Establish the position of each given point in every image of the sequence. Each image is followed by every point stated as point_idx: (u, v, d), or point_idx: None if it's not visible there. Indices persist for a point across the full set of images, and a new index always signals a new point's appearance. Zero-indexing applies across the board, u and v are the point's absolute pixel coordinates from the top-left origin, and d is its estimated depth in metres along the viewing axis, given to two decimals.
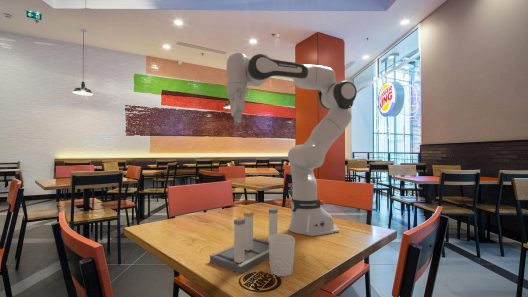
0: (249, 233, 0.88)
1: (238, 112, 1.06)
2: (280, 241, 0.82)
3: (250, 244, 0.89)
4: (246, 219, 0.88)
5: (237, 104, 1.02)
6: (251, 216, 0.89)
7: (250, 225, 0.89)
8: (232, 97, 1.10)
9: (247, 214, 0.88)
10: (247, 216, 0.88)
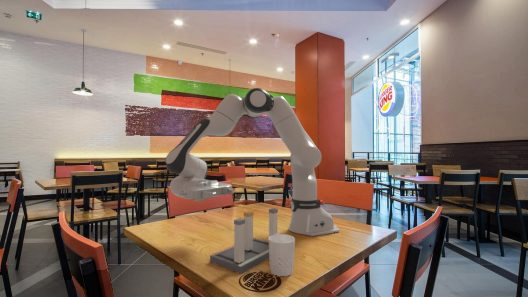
0: (249, 233, 0.88)
1: (202, 195, 0.94)
2: (280, 241, 0.82)
3: (250, 244, 0.89)
4: (246, 219, 0.88)
5: (190, 198, 0.93)
6: (251, 216, 0.89)
7: (250, 225, 0.89)
8: None
9: (247, 214, 0.88)
10: (247, 216, 0.88)
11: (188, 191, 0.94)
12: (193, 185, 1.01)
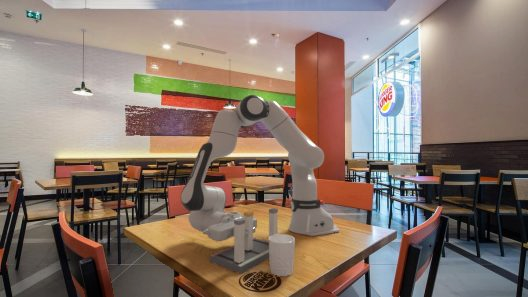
0: (249, 233, 0.88)
1: None
2: (280, 241, 0.82)
3: (250, 244, 0.89)
4: (246, 219, 0.88)
5: (215, 239, 0.85)
6: (251, 216, 0.89)
7: (250, 225, 0.89)
8: None
9: (247, 214, 0.88)
10: (247, 216, 0.88)
11: (213, 231, 0.86)
12: (216, 221, 0.94)
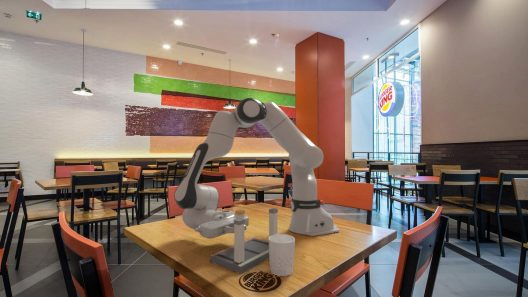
0: None
1: (225, 231, 0.91)
2: (280, 241, 0.82)
3: None
4: (237, 217, 0.91)
5: (206, 236, 0.87)
6: (242, 214, 0.91)
7: None
8: None
9: (238, 212, 0.90)
10: (238, 214, 0.90)
11: (204, 228, 0.88)
12: (208, 219, 0.96)
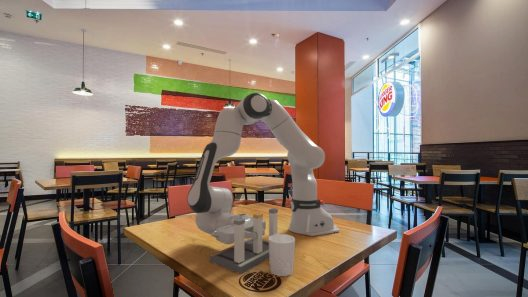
0: (259, 236, 0.86)
1: None
2: (280, 241, 0.82)
3: (259, 247, 0.86)
4: (255, 221, 0.86)
5: (224, 241, 0.82)
6: (260, 218, 0.87)
7: (259, 227, 0.86)
8: None
9: (256, 216, 0.86)
10: (256, 218, 0.86)
11: (221, 233, 0.83)
12: (224, 223, 0.91)
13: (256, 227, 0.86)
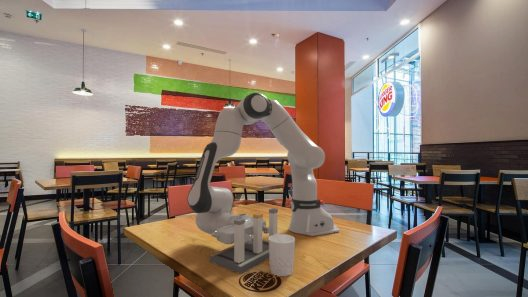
0: (258, 236, 0.86)
1: None
2: (280, 241, 0.82)
3: (259, 247, 0.86)
4: (255, 221, 0.86)
5: (224, 242, 0.82)
6: (260, 218, 0.87)
7: (259, 227, 0.86)
8: None
9: (256, 216, 0.86)
10: (256, 218, 0.86)
11: (222, 233, 0.83)
12: (224, 223, 0.91)
13: (256, 227, 0.86)
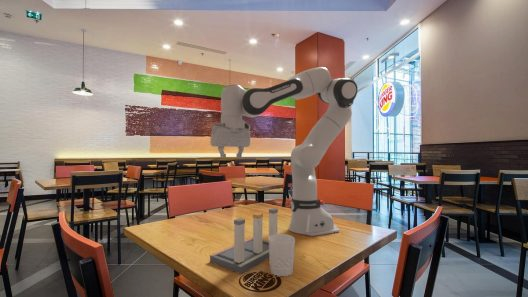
0: (258, 236, 0.86)
1: (219, 148, 1.03)
2: (280, 241, 0.82)
3: (259, 247, 0.86)
4: (255, 221, 0.86)
5: (211, 141, 1.01)
6: (260, 218, 0.87)
7: (259, 227, 0.86)
8: None
9: (256, 216, 0.86)
10: (256, 218, 0.86)
11: (215, 138, 0.99)
12: (228, 125, 1.04)
13: (256, 227, 0.86)
